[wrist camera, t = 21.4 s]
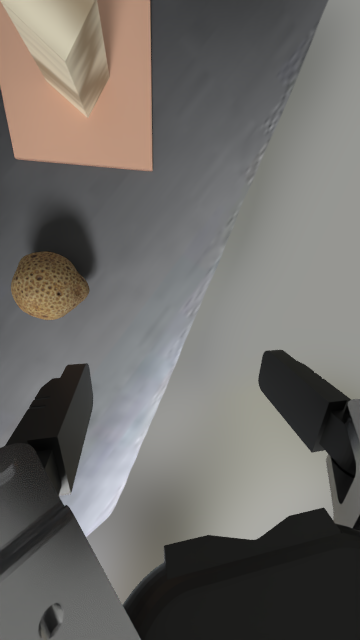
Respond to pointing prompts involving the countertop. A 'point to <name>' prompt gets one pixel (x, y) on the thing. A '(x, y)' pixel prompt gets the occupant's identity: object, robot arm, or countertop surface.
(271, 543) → the robot arm
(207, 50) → the countertop surface
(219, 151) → the countertop surface
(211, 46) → the countertop surface
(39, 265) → the natural sponge
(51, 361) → the countertop surface
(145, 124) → the terracotta tile
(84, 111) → the maple block
